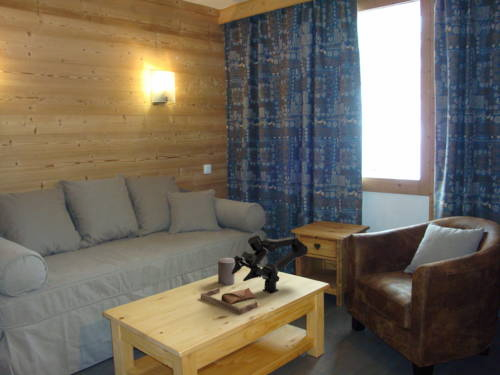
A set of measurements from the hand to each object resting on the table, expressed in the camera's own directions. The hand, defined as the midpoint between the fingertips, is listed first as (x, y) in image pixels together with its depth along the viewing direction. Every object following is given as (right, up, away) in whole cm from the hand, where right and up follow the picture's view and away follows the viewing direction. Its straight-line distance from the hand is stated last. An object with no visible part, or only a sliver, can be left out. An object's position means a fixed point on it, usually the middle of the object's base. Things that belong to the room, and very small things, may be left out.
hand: (237, 277), depth 239 cm
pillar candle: (-7, -9, +28) cm, 30 cm away
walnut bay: (-4, -13, -1) cm, 14 cm away
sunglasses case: (+1, -13, +4) cm, 14 cm away
